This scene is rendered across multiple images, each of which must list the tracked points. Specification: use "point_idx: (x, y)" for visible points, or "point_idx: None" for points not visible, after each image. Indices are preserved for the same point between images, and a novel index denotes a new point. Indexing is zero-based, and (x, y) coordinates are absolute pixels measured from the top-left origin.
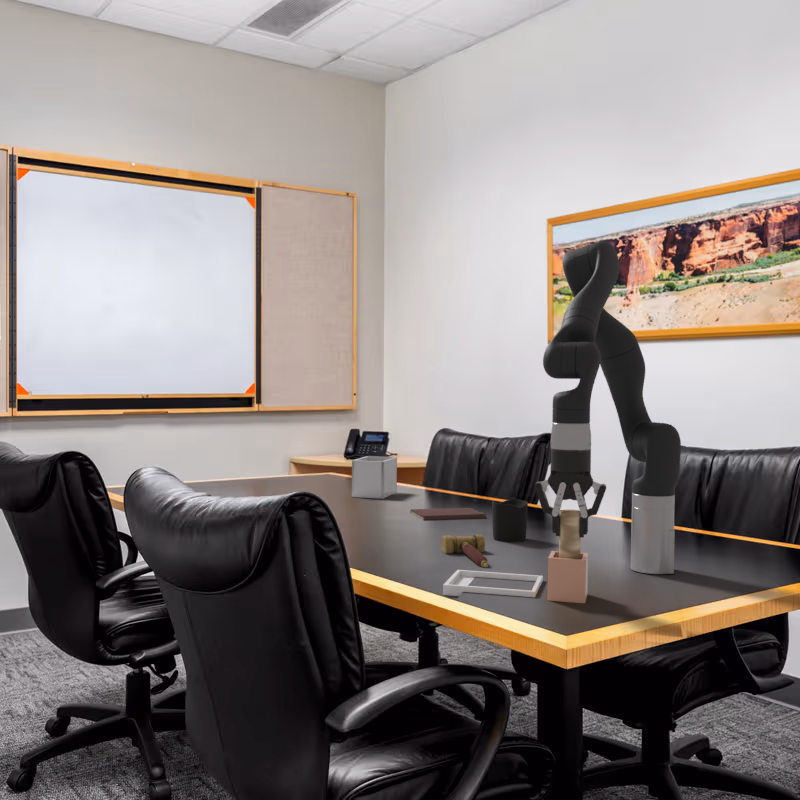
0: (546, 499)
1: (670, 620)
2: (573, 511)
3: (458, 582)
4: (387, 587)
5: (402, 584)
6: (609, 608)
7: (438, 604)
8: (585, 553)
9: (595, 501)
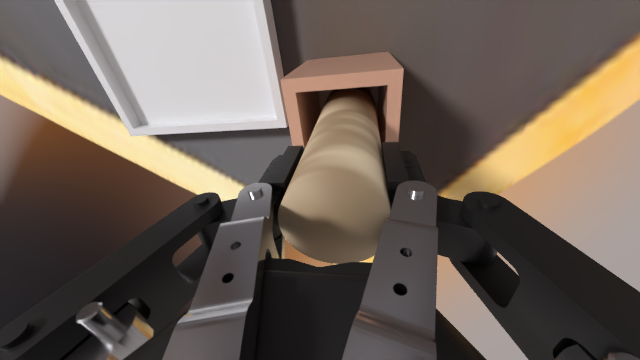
0: (174, 249)
1: (543, 154)
2: (352, 234)
3: (111, 54)
4: (48, 114)
5: (42, 83)
6: (433, 111)
7: (175, 179)
8: (394, 79)
9: (506, 323)
